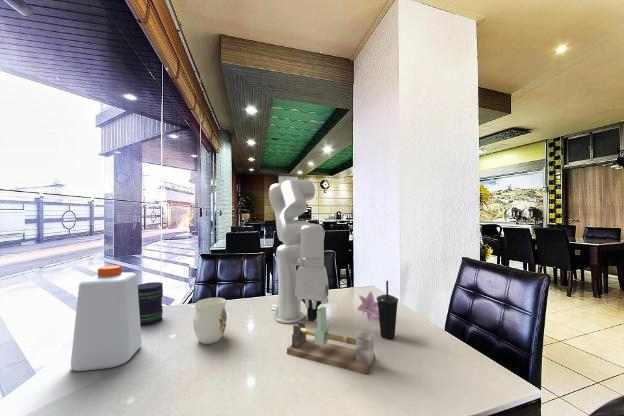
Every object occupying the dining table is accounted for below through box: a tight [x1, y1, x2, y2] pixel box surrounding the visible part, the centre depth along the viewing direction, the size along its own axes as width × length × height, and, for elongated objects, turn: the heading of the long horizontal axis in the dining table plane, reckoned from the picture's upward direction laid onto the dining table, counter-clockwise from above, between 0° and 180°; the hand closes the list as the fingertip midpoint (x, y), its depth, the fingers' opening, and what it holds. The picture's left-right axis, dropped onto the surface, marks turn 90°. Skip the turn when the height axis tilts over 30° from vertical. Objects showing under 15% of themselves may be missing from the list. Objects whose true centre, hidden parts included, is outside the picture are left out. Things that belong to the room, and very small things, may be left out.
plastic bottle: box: [70, 265, 142, 372], centre depth 82 cm, size 15×15×28 cm
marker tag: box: [313, 306, 330, 346], centre depth 84 cm, size 3×4×10 cm
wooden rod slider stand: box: [286, 320, 376, 375], centre depth 83 cm, size 26×9×8 cm, turn 65°
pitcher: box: [193, 297, 228, 345], centre depth 95 cm, size 11×18×14 cm, turn 4°
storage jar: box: [137, 281, 164, 327], centre depth 110 cm, size 10×10×15 cm
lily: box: [357, 290, 379, 322], centre depth 114 cm, size 12×12×10 cm
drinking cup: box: [376, 280, 399, 341], centre depth 96 cm, size 8×8×20 cm
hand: (312, 319), depth 85 cm, fingers closed
